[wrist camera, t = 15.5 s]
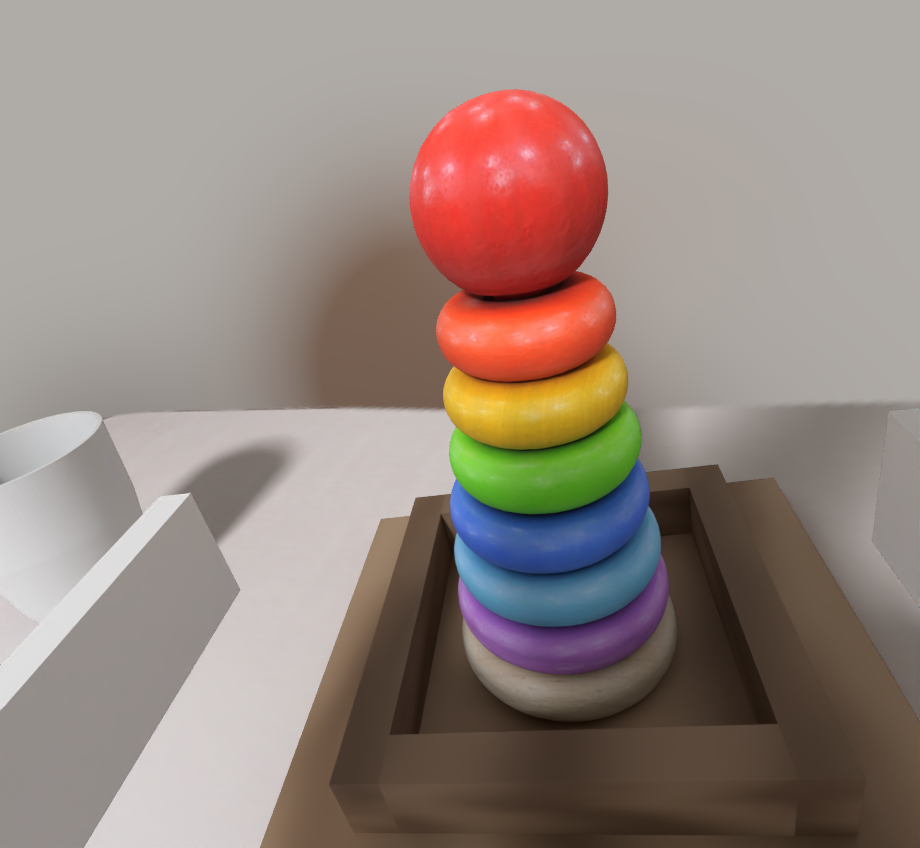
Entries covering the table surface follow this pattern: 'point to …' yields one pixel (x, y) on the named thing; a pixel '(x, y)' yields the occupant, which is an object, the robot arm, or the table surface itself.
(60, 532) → the cup
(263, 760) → the table surface
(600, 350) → the stacking toy
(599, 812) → the walnut jig
